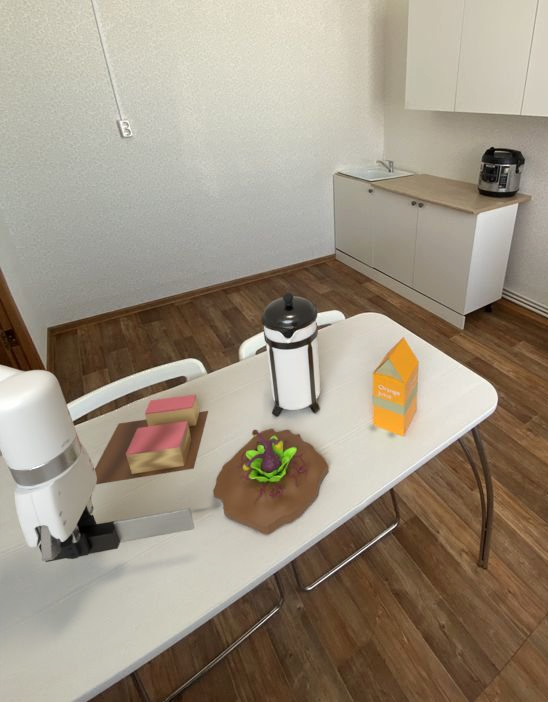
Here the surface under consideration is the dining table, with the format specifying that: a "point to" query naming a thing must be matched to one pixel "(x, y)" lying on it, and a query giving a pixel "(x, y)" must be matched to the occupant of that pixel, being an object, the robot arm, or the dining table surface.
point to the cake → (150, 449)
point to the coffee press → (292, 353)
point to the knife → (133, 530)
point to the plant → (270, 480)
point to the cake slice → (173, 410)
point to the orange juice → (395, 389)
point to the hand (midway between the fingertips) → (83, 544)
